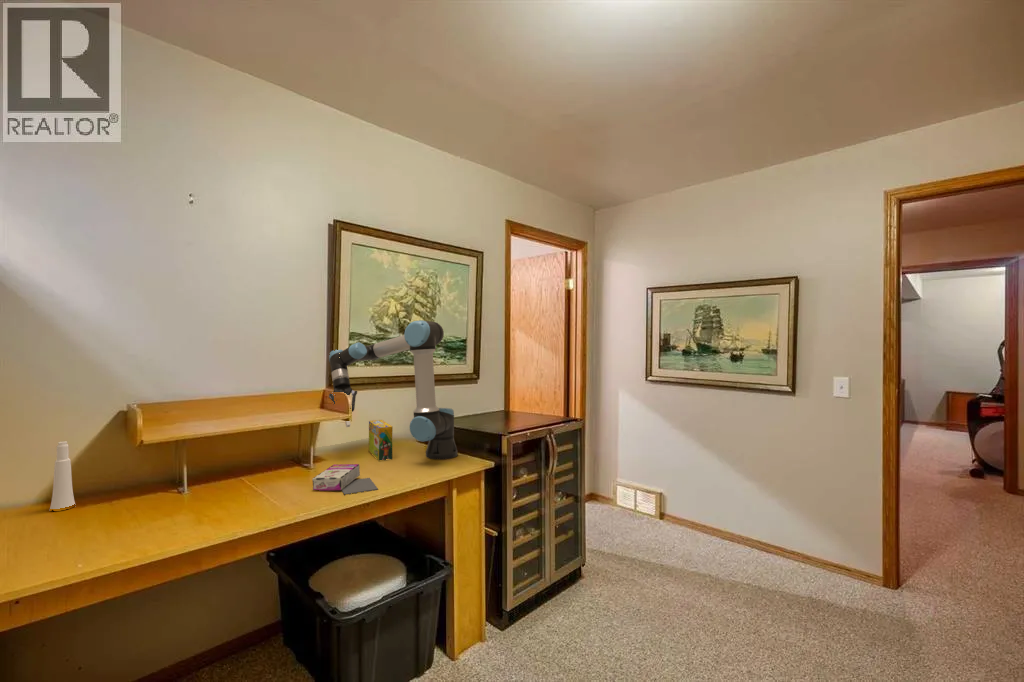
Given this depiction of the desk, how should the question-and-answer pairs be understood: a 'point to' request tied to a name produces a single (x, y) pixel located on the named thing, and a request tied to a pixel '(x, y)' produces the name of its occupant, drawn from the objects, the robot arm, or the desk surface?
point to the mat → (359, 486)
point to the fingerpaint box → (380, 439)
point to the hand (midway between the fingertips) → (348, 425)
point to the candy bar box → (336, 477)
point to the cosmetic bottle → (62, 479)
